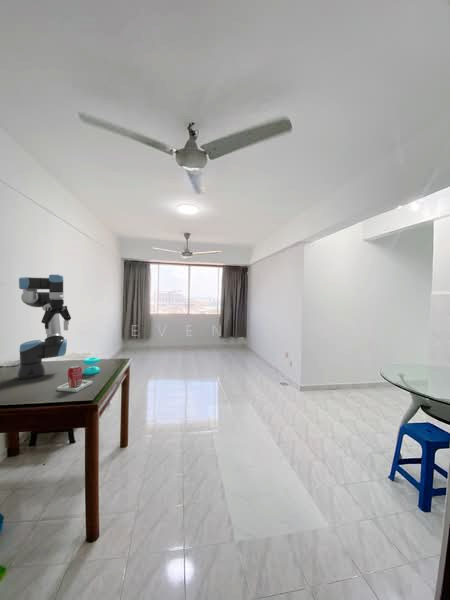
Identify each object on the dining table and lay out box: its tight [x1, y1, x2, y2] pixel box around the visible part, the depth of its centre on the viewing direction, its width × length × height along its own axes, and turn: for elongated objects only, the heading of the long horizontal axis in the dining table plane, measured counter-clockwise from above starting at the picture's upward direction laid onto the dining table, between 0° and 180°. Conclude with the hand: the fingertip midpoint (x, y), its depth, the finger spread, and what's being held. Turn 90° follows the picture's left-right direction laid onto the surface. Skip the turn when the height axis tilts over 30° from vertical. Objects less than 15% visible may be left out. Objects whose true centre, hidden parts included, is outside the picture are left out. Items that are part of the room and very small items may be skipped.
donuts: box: [82, 356, 101, 376], centre depth 176 cm, size 10×10×10 cm
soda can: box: [67, 364, 83, 388], centre depth 149 cm, size 7×7×12 cm
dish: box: [56, 379, 94, 393], centre depth 150 cm, size 13×13×2 cm
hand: (57, 332), depth 160 cm, fingers open, 13 cm apart
